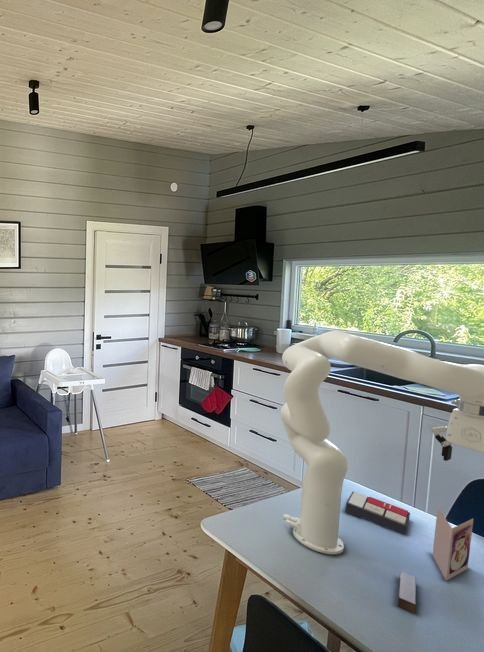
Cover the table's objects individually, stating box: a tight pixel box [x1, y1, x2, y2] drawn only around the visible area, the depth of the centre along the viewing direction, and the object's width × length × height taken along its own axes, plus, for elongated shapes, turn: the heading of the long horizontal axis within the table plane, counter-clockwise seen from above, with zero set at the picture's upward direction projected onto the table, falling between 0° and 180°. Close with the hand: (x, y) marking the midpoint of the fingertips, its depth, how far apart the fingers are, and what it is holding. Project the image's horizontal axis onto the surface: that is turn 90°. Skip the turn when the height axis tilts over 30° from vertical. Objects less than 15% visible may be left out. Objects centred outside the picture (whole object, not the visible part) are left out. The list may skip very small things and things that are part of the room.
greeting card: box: [431, 507, 474, 581], centre depth 111 cm, size 11×7×15 cm, turn 112°
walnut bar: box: [397, 571, 417, 614], centre depth 102 cm, size 3×12×2 cm, turn 135°
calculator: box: [344, 491, 411, 535], centre depth 134 cm, size 11×4×15 cm
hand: (470, 467), depth 113 cm, fingers open, 9 cm apart
